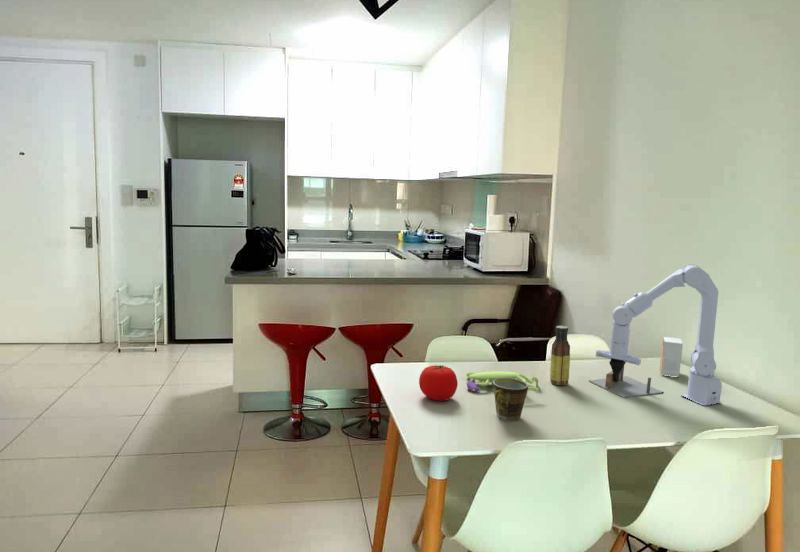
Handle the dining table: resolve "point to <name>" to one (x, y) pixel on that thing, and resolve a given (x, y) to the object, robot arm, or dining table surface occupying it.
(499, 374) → the figurine
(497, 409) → the ceramic cup
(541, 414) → the dining table surface
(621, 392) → the gate frame
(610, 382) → the board
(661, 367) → the small box
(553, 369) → the sauce bottle
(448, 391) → the tomato
